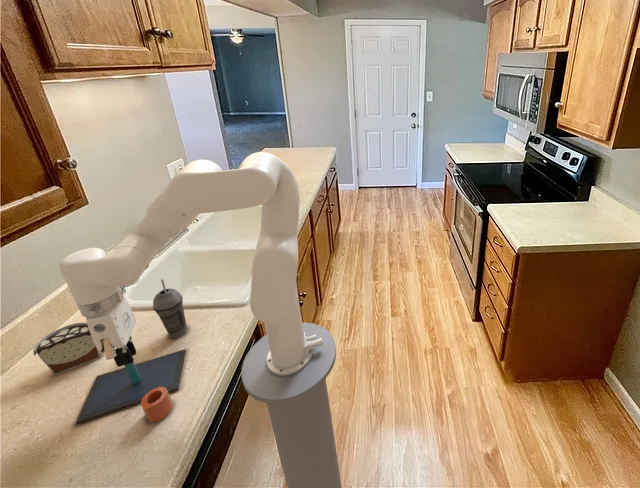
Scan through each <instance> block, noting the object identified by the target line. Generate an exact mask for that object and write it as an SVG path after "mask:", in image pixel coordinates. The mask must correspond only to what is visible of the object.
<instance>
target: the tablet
mask: <svg viewBox="0 0 640 488" xmlns="http://www.w3.org/2000/svg"><path fill="white" fill-rule="evenodd" d="M186 352H187V351H186V349H180V350H177V351H174V352H171V353H169V354H165V355H161V356H159V357H155V358H151V359H148V360H145V361H142V362H139V363H135V366H136V368H137V370H138V373H139V375H140V377H141V380H140V382H138V383H137V384H133V383H132V381H131V379H130V377H129V374H128V372H127V370H126V368H125V367H122V368H118V369H115V370H112V371H109V372H105V373H103V374H98V375H97V376H96V378H95V379H94V381H93V384H92V386H91V388H90V391H89V393H88V395H87V397H86V399H85V401H84V404H83V406H82V407H81V410H80V412H79V414H78V417H77V419H76V421H75V424H76V425H81V424H84V423H87V422H89V421H91V420H92V421H93V420H95V419H98V418H100V417H104V416H107V415H110V414H112V413H116V412H118V411H121V410H124V409H127V408H130V407H133V406H136V405H139V404H141V400H142V398H143V397H144V396H145V395H146V394H147V393H148V392H149V391H151V390H152V389H155V388H158V387H165V388H166V389H167V391H168V393H169V394H171V393H173V392H177V391H179V389H180V383H181V377H182V372H183V367H184V363H185V357H186V354H187V353H186Z"/></svg>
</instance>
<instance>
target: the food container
mask: <svg viewBox="0 0 640 488" xmlns="http://www.w3.org/2000/svg"><path fill="white" fill-rule="evenodd" d="M32 353H33V356H34V357H35V356H36V355H38V357H39V358H40V360H42V362H43V363H44V364H45V365H46V367H47V368H48V369H49V370H50V371H51V373H52V374H53V375H54V376H56V375H60V374H62V373H64V372H67V371H69V370H72V369H75V368H78V367H80V366H83V365H85V364H88V363H90V362H93V361H95V360H98V359H101V353H100V352H99V351H98V349H97V348H96V346H95V344H94V341H93V339H92V336H91V334H90V331H89V328H88V324H87V322H76V323H72V324H68V325H65V326H63V327H60V328H58V329H56V330H54V331H52V332H50V333H48V334H47V335H46V336H44V337H43V338H41V340H39V341H38V342H37V343H36V345H34V347H33V351H32Z"/></svg>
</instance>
